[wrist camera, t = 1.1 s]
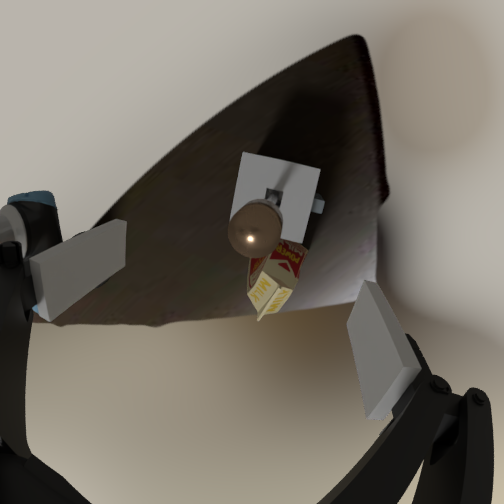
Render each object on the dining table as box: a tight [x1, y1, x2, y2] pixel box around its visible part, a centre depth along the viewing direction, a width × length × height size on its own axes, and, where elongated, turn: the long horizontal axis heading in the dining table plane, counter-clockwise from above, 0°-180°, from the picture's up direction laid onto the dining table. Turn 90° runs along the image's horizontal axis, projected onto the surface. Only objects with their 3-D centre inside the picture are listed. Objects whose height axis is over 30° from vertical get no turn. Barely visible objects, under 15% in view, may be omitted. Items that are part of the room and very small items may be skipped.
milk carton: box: [247, 238, 309, 321], centre depth 47 cm, size 9×9×20 cm
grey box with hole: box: [230, 152, 325, 243], centre depth 45 cm, size 13×11×14 cm
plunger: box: [228, 188, 283, 258], centre depth 32 cm, size 8×8×24 cm
